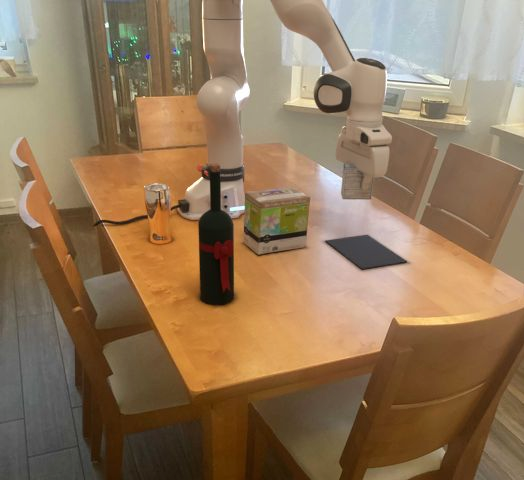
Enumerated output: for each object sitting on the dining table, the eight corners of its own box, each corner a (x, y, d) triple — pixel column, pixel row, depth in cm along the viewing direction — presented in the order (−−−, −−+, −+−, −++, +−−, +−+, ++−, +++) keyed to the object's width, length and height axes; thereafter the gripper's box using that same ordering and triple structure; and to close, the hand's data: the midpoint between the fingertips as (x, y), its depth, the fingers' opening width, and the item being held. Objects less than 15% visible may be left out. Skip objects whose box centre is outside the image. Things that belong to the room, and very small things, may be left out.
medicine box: (369, 195, 150) (373, 163, 145) (371, 200, 146) (375, 167, 141) (340, 194, 150) (343, 162, 145) (342, 200, 146) (345, 167, 141)
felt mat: (361, 270, 141) (362, 268, 141) (325, 241, 156) (325, 240, 156) (406, 262, 145) (407, 261, 145) (367, 236, 161) (367, 234, 161)
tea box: (259, 256, 146) (260, 202, 138) (242, 243, 153) (243, 191, 145) (306, 247, 152) (311, 195, 144) (289, 235, 159) (292, 184, 151)
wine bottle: (210, 312, 120) (207, 174, 103) (195, 292, 127) (189, 161, 111) (243, 306, 123) (245, 171, 106) (226, 287, 130) (225, 158, 114)
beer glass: (177, 237, 155) (174, 184, 147) (166, 246, 150) (162, 192, 142) (155, 233, 157) (151, 181, 149) (143, 242, 152) (138, 188, 143)
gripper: (332, 123, 146) (328, 176, 153) (374, 140, 130) (367, 197, 137) (352, 122, 148) (347, 174, 155) (396, 138, 132) (388, 195, 140)
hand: (357, 185), depth 146 cm, fingers closed on medicine box, 5 cm apart
